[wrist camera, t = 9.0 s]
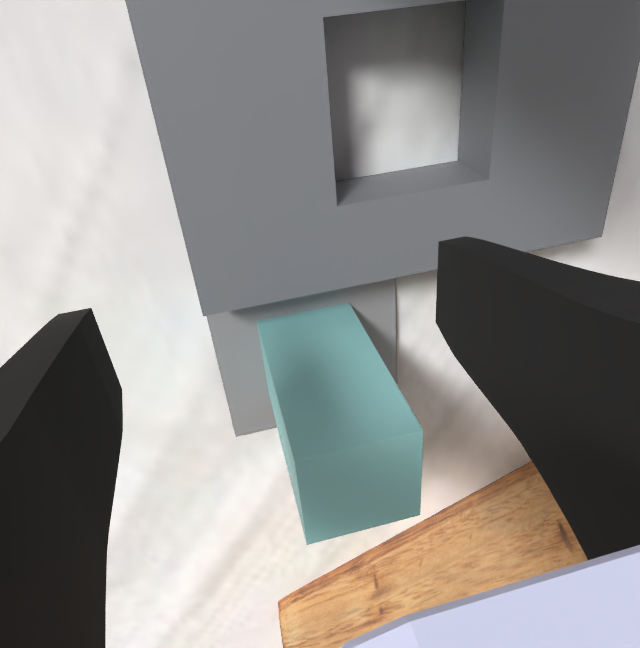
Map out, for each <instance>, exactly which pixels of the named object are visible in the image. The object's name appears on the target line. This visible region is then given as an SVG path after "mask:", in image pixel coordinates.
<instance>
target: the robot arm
mask: <svg viewBox="0 0 640 648" xmlns="http://www.w3.org/2000/svg"><path fill="white" fill-rule="evenodd" d="M436 323H437V325H438V327H439V329H440V331H441V333H442V335H443V336H444V338H445V340H446V342H447V344H448V346H449V347H450V349H451V351H452V352H453V354H454V356H455V357H456V359H457V360H458V361H459V363H460V364H461V365H462V367H463V368H464V369H465V371H466V372H467V373H468V375H469V376H470V377H471V378H472V380H473V381H474V382H475V384H476V385H477V386H478V387H479V389H480V390H481V391H482V393H483V394H484V395H485V396H486V398H487V399H488V400H489V402H490V403H491V404H492V405H493V407H494V408H495V409H496V410H497V412H498V413H499V414H500V416H501V417H502V418H503V419H504V421H505V422H506V423H507V425H508V426H509V427H510V428H511V430H512V431H513V433H514V434H515V435H516V437H517V438H518V440H519V441H520V442H521V444H522V445H523V447H524V449H525V450H526V452H527V453H528V455H529V457H530V458H531V460H532V462H533V463H534V465H535V467H536V468H537V470H538V471H539V473H540V475H541V476H542V478H543V480H544V481H545V483H546V485H547V486H548V488H549V490H550V492H551V493H552V495H553V497H554V499H555V500H556V502H557V504H558V506H559V507H560V509H561V511H562V513H563V514H564V516H565V518H566V520H567V521H568V523H569V525H570V527H571V529H572V531H573V533H574V534H575V536H576V538H577V540H578V542H579V544H580V546H581V548H582V550H583V551H584V553H585V555H586V557H587V559H588V561H584V562H581V563H578V564H574V565H571V566H568V567H565V568H561V569H558V570H555V571H551V572H548V573H545V574H541V575H538V576H535V577H531V578H528V579H525V580H521V581H518V582H515V583H511V584H508V585H505V586H501V587H498V588H495V589H491V590H488V591H485V592H481V593H478V594H475V595H471V596H468V597H465V598H461V599H458V600H455V601H451V602H448V603H445V604H442V605H438V606H435V607H432V608H428V609H425V610H422V611H418V612H415V613H412V614H408V615H405V616H403V617H400V618H398V619H396V620H394V621H391V622H389V623H387V624H385V625H383V626H380V627H378V628H376V629H374V630H372V631H369V632H367V633H365V634H363V635H361V636H358V637H356V638H354V639H352V640H350V641H347V642H345V643H344V644H343V645H342V646H341V647H340V648H640V282H639V281H634V280H629V279H623V278H619V277H614V276H609V275H605V274H601V273H597V272H593V271H589V270H585V269H581V268H577V267H574V266H570V265H566V264H563V263H559V262H556V261H552V260H549V259H546V258H542V257H539V256H536V255H533V254H529V253H526V252H523V251H520V250H516V249H513V248H510V247H507V246H503V245H500V244H497V243H493V242H489V241H486V240H482V239H478V238H473V237H466V236H464V237H459V238H454V239H449V240H444V241H439V243H438V271H437V300H436ZM122 432H123V411H122V388H121V386H120V383H119V380H118V378H117V375H116V372H115V370H114V367H113V364H112V362H111V359H110V356H109V354H108V351H107V349H106V346H105V343H104V341H103V338H102V335H101V333H100V330H99V327H98V325H97V322H96V320H95V317H94V314H93V312H92V309H91V308H89V309H83V310H78V311H73V312H68V313H62V314H58V315H57V316H56V317H54V318H53V319H52V320H50V321H49V322H48V323H47V324H46V325H45V326H44V327H43V328H42V329H40V330H39V331H38V332H37V333H36V334H35V335H34V336H33V337H32V338H31V339H30V340H29V341H28V342H27V343H26V344H25V345H24V346H23V347H22V348H21V349H20V350H19V351H17V352H16V353H15V354H14V355H13V356H12V357H11V358H10V359H9V360H8V361H7V362H6V363H5V364H4V365H3V366H2V367H1V368H0V648H105V602H106V563H107V545H108V534H109V526H110V519H111V512H112V505H113V498H114V491H115V484H116V477H117V470H118V463H119V455H120V448H121V440H122Z"/></svg>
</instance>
